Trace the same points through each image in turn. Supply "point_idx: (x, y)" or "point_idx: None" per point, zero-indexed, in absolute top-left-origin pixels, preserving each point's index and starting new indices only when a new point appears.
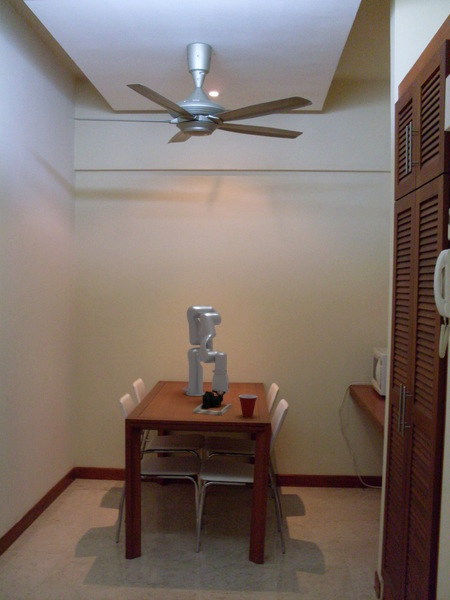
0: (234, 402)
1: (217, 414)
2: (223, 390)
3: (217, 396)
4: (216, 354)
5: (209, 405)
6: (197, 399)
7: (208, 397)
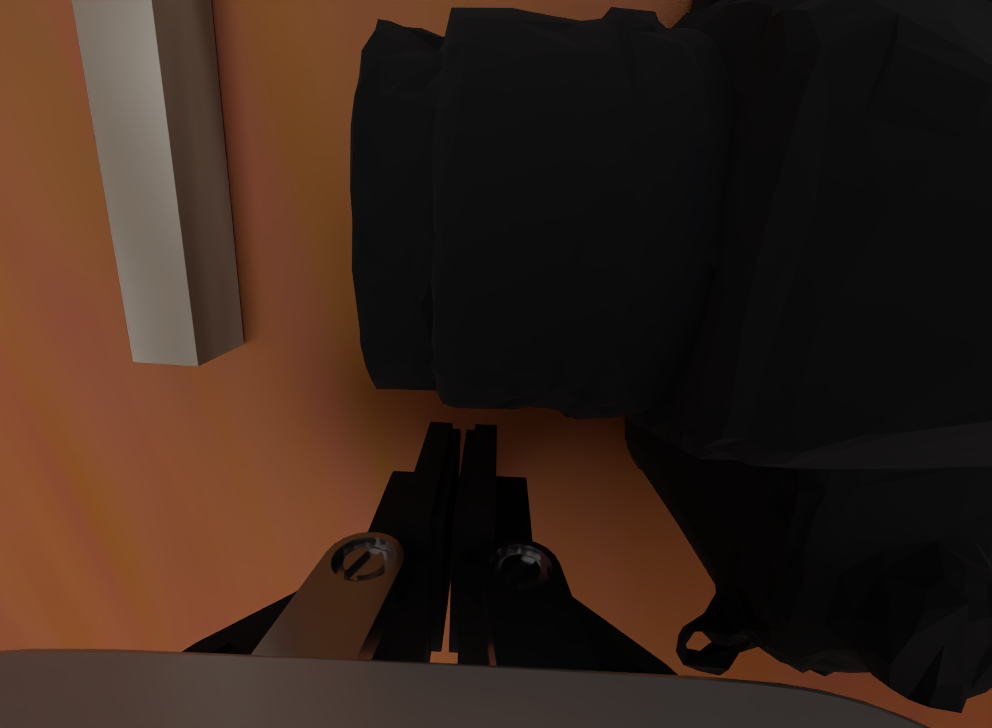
0: None
1: None
2: (50, 690)
3: (451, 143)
4: None
5: (696, 9)
6: (972, 718)
7: None
